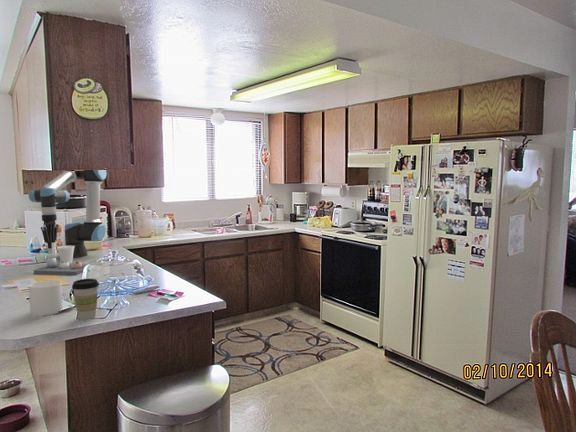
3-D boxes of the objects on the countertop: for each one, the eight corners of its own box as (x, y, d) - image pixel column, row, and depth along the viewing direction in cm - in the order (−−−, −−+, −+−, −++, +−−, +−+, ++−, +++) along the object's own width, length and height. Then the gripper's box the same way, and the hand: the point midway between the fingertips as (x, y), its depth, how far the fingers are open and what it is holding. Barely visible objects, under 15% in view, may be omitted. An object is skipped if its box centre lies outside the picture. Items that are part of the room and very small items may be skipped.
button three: (76, 269, 248) (75, 261, 248) (83, 269, 248) (83, 261, 247) (71, 271, 243) (70, 263, 243) (79, 271, 243) (78, 263, 242)
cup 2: (78, 262, 268) (77, 245, 267) (69, 265, 259) (68, 248, 257) (64, 262, 269) (63, 245, 268) (54, 265, 260) (53, 248, 258)
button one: (50, 265, 249) (50, 257, 249) (58, 265, 249) (57, 257, 248) (45, 266, 245) (44, 259, 244) (53, 267, 244) (52, 259, 244)
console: (54, 266, 256) (53, 263, 256) (94, 267, 254) (94, 264, 254) (33, 273, 239) (33, 270, 238) (76, 275, 236) (76, 271, 236)
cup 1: (54, 305, 184) (52, 278, 182) (67, 310, 177) (66, 283, 176) (25, 312, 174) (23, 284, 173) (38, 318, 167) (36, 289, 166)
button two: (63, 268, 249) (63, 261, 248) (71, 269, 248) (70, 261, 248) (58, 270, 244) (57, 262, 244) (66, 270, 244) (65, 263, 243)
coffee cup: (88, 322, 163) (86, 285, 161) (67, 320, 165) (65, 283, 164) (105, 314, 172) (104, 279, 170) (86, 312, 175) (84, 277, 173)
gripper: (50, 212, 250) (52, 251, 253) (35, 215, 237) (37, 255, 240) (62, 212, 249) (64, 251, 252) (47, 215, 237) (50, 255, 239)
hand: (51, 253), depth 246 cm, fingers closed
